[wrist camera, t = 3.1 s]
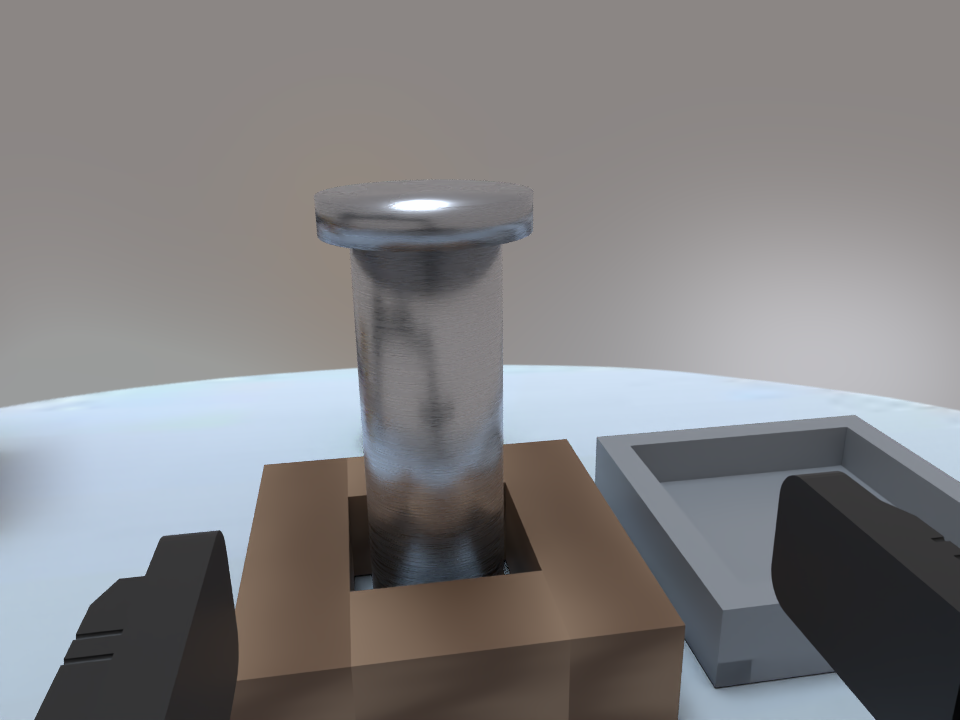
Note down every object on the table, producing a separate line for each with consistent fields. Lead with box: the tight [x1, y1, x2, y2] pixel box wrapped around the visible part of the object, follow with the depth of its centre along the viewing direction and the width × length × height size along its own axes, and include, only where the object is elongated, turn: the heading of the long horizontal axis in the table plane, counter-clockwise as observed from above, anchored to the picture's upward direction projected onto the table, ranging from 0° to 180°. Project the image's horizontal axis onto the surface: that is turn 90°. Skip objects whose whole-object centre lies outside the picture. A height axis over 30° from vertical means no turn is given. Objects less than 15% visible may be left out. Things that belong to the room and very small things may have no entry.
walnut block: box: [230, 439, 685, 720], centre depth 24 cm, size 11×11×3 cm
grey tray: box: [595, 415, 960, 688], centre depth 27 cm, size 11×11×2 cm
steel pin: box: [314, 180, 533, 589], centre depth 23 cm, size 6×6×13 cm
